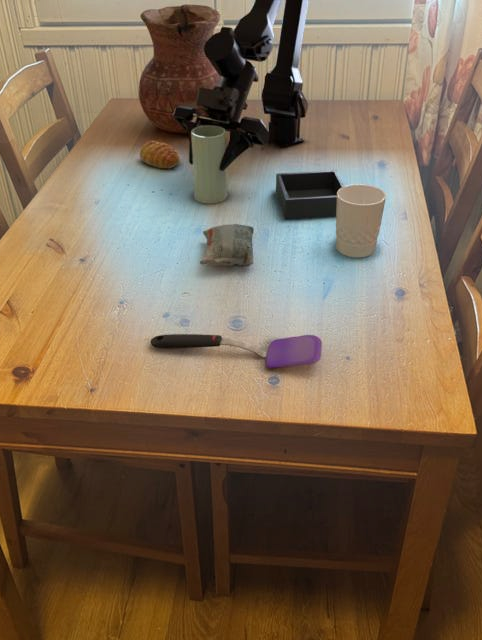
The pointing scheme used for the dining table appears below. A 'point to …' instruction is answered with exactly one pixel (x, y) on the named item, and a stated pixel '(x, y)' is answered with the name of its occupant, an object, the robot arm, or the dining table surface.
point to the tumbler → (209, 163)
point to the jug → (177, 62)
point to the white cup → (358, 219)
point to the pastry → (159, 155)
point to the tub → (308, 194)
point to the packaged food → (229, 246)
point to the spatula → (252, 347)
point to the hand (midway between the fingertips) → (205, 166)
